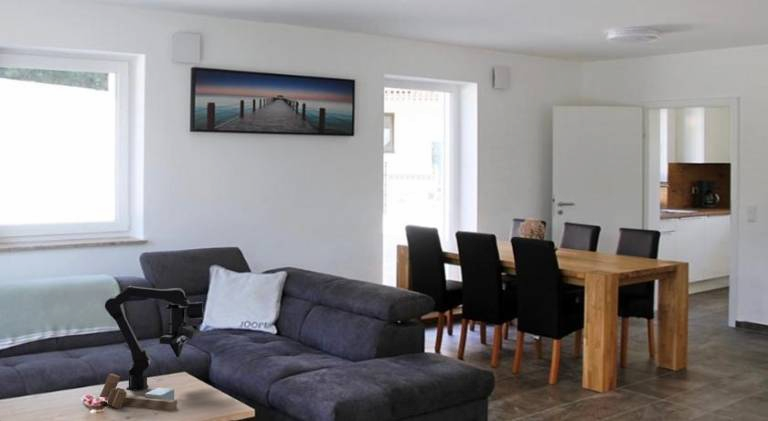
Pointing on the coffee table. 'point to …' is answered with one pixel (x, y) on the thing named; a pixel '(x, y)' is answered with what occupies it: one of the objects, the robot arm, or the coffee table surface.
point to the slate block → (161, 393)
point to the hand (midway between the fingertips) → (178, 357)
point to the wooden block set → (113, 391)
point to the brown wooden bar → (150, 402)
